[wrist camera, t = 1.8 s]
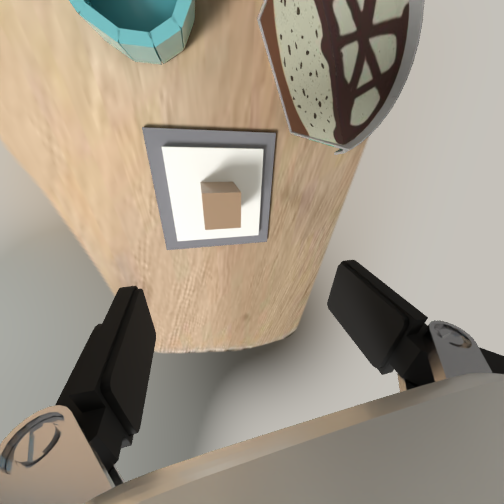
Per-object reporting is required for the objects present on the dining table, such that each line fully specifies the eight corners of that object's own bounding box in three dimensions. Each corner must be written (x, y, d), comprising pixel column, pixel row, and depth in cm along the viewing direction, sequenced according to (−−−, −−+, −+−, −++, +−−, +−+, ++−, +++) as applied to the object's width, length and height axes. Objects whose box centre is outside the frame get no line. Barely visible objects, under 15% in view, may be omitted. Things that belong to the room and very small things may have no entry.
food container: (342, 120, 23) (426, 116, 15) (294, 147, 23) (350, 157, 15) (317, -47, 16) (448, -231, 8) (249, -7, 16) (307, -146, 8)
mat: (143, 127, 19) (142, 127, 19) (274, 133, 22) (275, 133, 22) (167, 248, 26) (166, 250, 25) (265, 239, 29) (266, 241, 28)
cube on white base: (162, 146, 20) (153, 151, 15) (261, 148, 22) (278, 153, 18) (177, 238, 25) (174, 261, 20) (256, 232, 27) (269, 252, 23)
